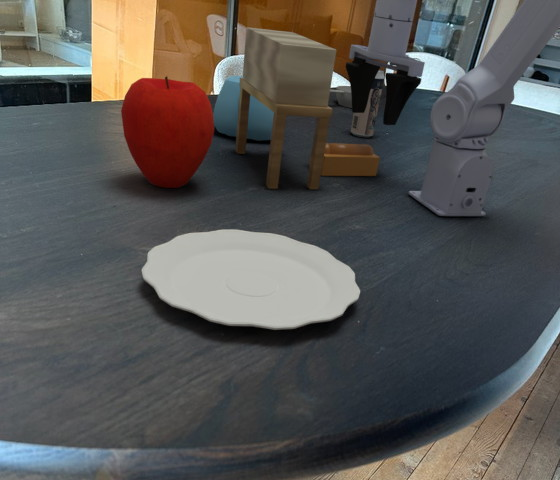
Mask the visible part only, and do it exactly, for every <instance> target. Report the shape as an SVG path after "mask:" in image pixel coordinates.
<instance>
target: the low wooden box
mask: <svg viewBox="0 0 560 480" xmlns="http://www.w3.org/2000/svg"><path fill="white" fill-rule="evenodd" d="M311 154H312V149H311V151H310V155H311ZM380 158H381V157H380V156H378V155H377V154H376V153H374V149H373V147H372V146H371V145H370V144H366V143H339V142H337V143H336V142H326V145H325V152H324V158H323V164H322V170H321V176H322V177H329V176H330V177H377V174H378V169H379V164H380ZM310 160H311V156H309V161H310ZM308 166H309V167H310V162H309V165H308Z"/></svg>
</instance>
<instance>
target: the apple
mask: <svg viewBox="0 0 560 480" xmlns="http://www.w3.org/2000/svg"><path fill="white" fill-rule="evenodd" d="M213 113H214V111H213V108H212V104H211V101H210V99H209V97H208V95H207V93H206V91H205V90H203V88H201V87H200V86H199V85H198V84H196V83H195V82H192V81H180V80H175V79H169V78H168V75H166V76H164V78H155V77H154V78H153V77H141V78H139V79H137V80H136V81H134V82H133V83H131V84H130V86H129V88H128V90H127V91H126V93H125V95H124V98H123V102H122V106H121V110H120V114H121V122H122V130H123V137H124V140H125V142H126V145H127V148H128V151H129V153H130V156H131V157H132V159H133V161H134V163H135V165H136V166H137V168H138V169H139V171H140V172H141V174H142V175H143V176H144V177H145V178H146V180H147V181H148V182H149V183H150V184H151V185H153V186H155V187H159V188H166V189H178V188H181V187H183V186H185V185H187V184H189V182H190V180H191V179H192V178H193V176H194V175H195V174H196V172H197V171H198V169H199V168H200V166H201V165H202V163H203V161H204V160H205V158H206V156H207V154H208V151H209V150H210V147H211V146H212V143H213V137H214V134H215V125H214V119H213Z"/></svg>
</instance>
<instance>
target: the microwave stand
mask: <svg viewBox="0 0 560 480" xmlns="http://www.w3.org/2000/svg"><path fill="white" fill-rule="evenodd" d="M245 29H246V30H245V41H244V54H243V65H242V76H243V78H240V83H239V86H240V96H239V110H238V123H237V136H236V137H235V152H236V154H239V155H240V154H241V155H242V154H243V155H245V154H246V148H247V128H248V116H249V104H250V94H251V95H252V96H253V97H255V98H256V99H257V100H258V101H260V102H261V103H262V104H264V105H265V106H266V107H267V108H269V109H270V110H271V111H273V112H274V115H273V124H272V134H271V140H270V144H269V153H268V161H267V162H268V163H267V172H266V180H265V186H266V187H267V188H268V189H274V190H275V189H276V190H277V189H279V180H280V171H281V165H282V154H283V147H284V139H285V130H286V122H287V116H292V117H293V116H294V117H306V118H307V117H309V118H316V120H315V126H314V127H315V128H314V135H313V141H312V146H311V150H312V154H311V153H310V157H311V160H310V159H309V163H310V166H309V169H308V173H307V182H306V187H307V188H308V189H309V190H319V188H320V182H321V176H322V175H321V170H322V164H323V158H324V152H325V145H326V143H327V138H328V133H329V125H330V119H332V115H333V110H334V109H333V108H332V107H330V106H329V100H330V93H331V92H330V90H331V87H332V82H333V74H334V69H335V61H336V56H337V49H336V48H333V47H330V46H329V45H325V44H323V43H321V42H318V41H316V40H313V39H310V38H308V37H305V36H304V35H300V34H298V33H296V32H293V31H282V30H274V29H265V28H257V27H248V26H247V27H245Z"/></svg>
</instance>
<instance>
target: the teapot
mask: <svg viewBox="0 0 560 480" xmlns="http://www.w3.org/2000/svg"><path fill="white" fill-rule="evenodd" d="M240 78H243V75H231V76H228V77H227V78H226V79H225V80H224V82H223V84H222V86H221V88H220V91H219V93H218V95H217V98H216V100H215V104H214V107H213V119H214V128H215V129H216V132H218V133H220V134H224V135H226V136H228V137H234V138H236V136H237V123H238V110H239V96H240V86H239V83H240ZM273 115H274V112H273V111H271V110H270V109H269V108H267V107H266V106H265V105H264V104H262V103H261V102H260V101H258V100H257V99H256V98H255V97H253V96H252V95H251V94H250V104H249V116H248V128H247V139H248V140H253V141H256V142H262V141H271V134H272V124H273ZM247 139H246V140H247Z"/></svg>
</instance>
